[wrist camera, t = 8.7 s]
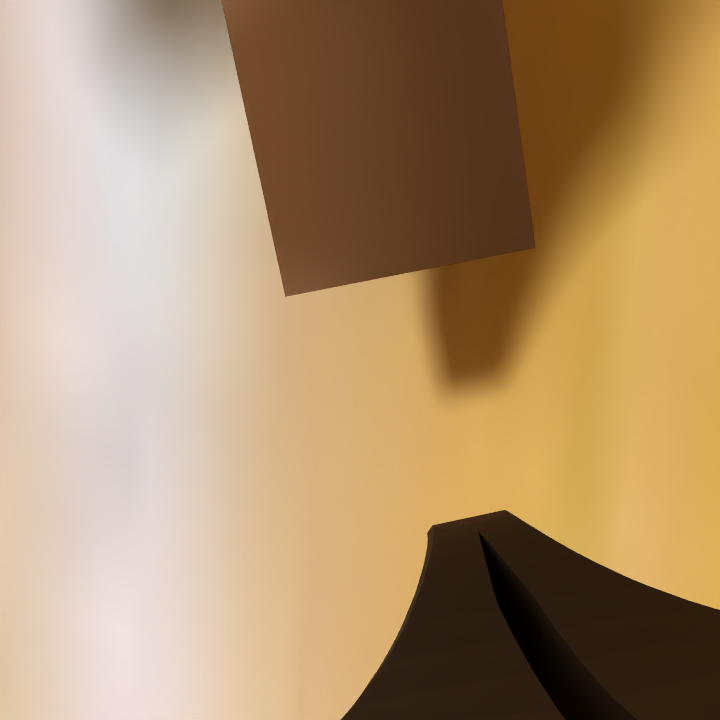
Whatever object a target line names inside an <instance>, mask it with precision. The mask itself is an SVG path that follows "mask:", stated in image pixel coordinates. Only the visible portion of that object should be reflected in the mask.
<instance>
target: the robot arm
mask: <svg viewBox="0 0 720 720" xmlns="http://www.w3.org/2000/svg"><path fill="white" fill-rule="evenodd" d="M427 535H428V545H427V552H426V557H425V562H424V566H423V569H422V573H421V576H420V580H419V583H418V586H417V590H416V593H415V595H414V598H413V600H412V603H411V605H410V608H409V610H408V613H407V615H406V617H405V620H404V622H403V625H402V627H401V629H400V631H399V633H398V635H397V637H396V639H395V641H394V643H393V645H392V647H391V648H390V650H389V652H388V654H387V655H386V657H385V659H384V661H383V662H382V664H381V666H380V667H379V669H378V670H377V672H376V673H375V675H374V676H373V678H372V679H371V681H370V682H369V684H368V685H367V687H366V688H365V690H364V691H363V693H362V694H361V696H360V697H359V698H358V700H357V701H356V702H355V704H354V705H353V706H352V707H351V709H350V710H349V711H348V712H347V713H346V714H345V716H344V717H343V718H342V719H341V720H720V610H718V609H714V608H711V607H708V606H704V605H701V604H698V603H695V602H691V601H688V600H685V599H683V598H680V597H677V596H674V595H672V594H669V593H666V592H663V591H661V590H658V589H655V588H653V587H650V586H647V585H645V584H642V583H640V582H637V581H635V580H632V579H630V578H628V577H625V576H623V575H621V574H619V573H617V572H615V571H613V570H611V569H608V568H606V567H604V566H602V565H600V564H598V563H596V562H594V561H592V560H590V559H588V558H586V557H584V556H582V555H580V554H578V553H576V552H575V551H573V550H571V549H569V548H567V547H566V546H564V545H562V544H560V543H559V542H557V541H555V540H553V539H552V538H550V537H548V536H547V535H545V534H543V533H542V532H540V531H538V530H537V529H535V528H534V527H532V526H530V525H529V524H527V523H526V522H524V521H522V520H521V519H519V518H518V517H516V516H514V515H513V514H511V513H510V512H508V511H506V510H503V511H498V512H493V513H489V514H484V515H479V516H475V517H470V518H465V519H460V520H456V521H451V522H446V523H442V524H437V525H433V526H432V527H431V528H430V530H429V531H428V533H427Z"/></svg>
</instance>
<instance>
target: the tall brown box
mask: <svg viewBox="0 0 720 720" xmlns="http://www.w3.org/2000/svg"><path fill="white" fill-rule="evenodd" d="M222 5H223V10H224V14H225V19H226V24H227V28H228V33H229V38H230V42H231V47H232V51H233V56H234V61H235V65H236V70H237V75H238V79H239V84H240V88H241V93H242V98H243V102H244V107H245V112H246V116H247V121H248V126H249V130H250V135H251V139H252V144H253V149H254V153H255V158H256V163H257V167H258V172H259V176H260V181H261V186H262V190H263V195H264V200H265V204H266V209H267V213H268V218H269V223H270V227H271V232H272V237H273V241H274V246H275V251H276V255H277V260H278V264H279V269H280V274H281V278H282V283H283V288H284V292H285V297H286V296H291V295H296V294H301V293H306V292H311V291H316V290H322V289H327V288H332V287H337V286H342V285H347V284H352V283H357V282H363V281H368V280H373V279H378V278H383V277H388V276H393V275H398V274H404V273H409V272H414V271H419V270H424V269H429V268H434V267H439V266H445V265H450V264H455V263H460V262H465V261H470V260H475V259H480V258H486V257H491V256H496V255H501V254H506V253H511V252H516V251H521V250H526V249H532V248H535V242H534V234H533V227H532V220H531V212H530V205H529V197H528V190H527V182H526V175H525V168H524V160H523V153H522V145H521V138H520V130H519V123H518V116H517V108H516V101H515V93H514V86H513V78H512V71H511V64H510V56H509V49H508V41H507V34H506V26H505V19H504V12H503V4H502V0H222Z"/></svg>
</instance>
